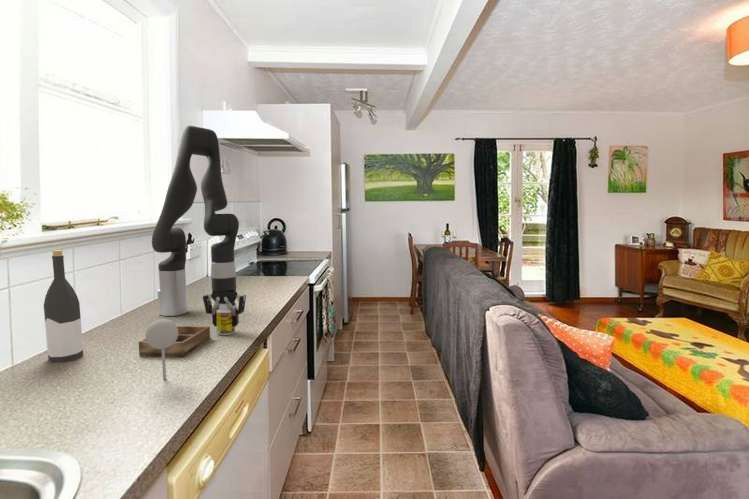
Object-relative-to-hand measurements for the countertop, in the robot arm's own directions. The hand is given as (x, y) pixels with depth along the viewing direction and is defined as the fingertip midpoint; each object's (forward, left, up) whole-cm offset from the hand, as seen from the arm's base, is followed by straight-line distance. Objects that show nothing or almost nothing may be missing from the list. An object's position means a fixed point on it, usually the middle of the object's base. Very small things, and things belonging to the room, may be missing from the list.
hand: (225, 325), depth 141 cm
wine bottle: (-35, -25, -3) cm, 43 cm away
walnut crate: (-9, -14, -2) cm, 17 cm away
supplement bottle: (0, 0, -3) cm, 3 cm away
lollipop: (+1, -37, -3) cm, 37 cm away
